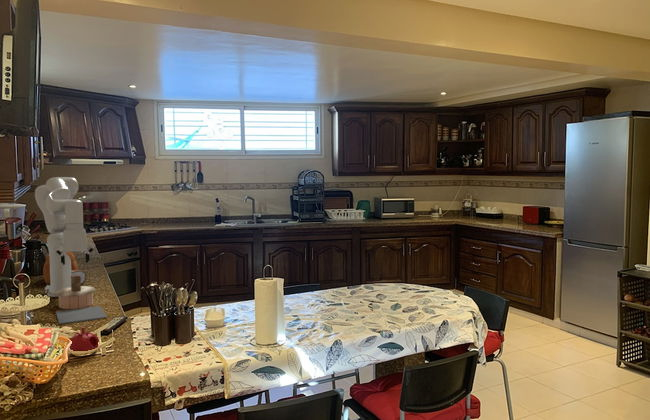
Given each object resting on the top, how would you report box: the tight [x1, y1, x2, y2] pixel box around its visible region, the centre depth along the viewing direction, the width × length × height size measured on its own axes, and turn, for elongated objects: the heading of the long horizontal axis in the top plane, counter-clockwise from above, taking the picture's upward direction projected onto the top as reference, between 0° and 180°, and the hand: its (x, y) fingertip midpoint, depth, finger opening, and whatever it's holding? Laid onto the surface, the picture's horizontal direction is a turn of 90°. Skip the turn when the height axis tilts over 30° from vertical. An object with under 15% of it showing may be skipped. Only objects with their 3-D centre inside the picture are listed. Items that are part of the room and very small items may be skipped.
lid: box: [57, 274, 96, 296], centre depth 229 cm, size 16×16×8 cm
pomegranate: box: [69, 326, 100, 351], centre depth 167 cm, size 10×10×9 cm
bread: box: [42, 252, 79, 285], centre depth 282 cm, size 18×22×17 cm
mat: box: [55, 305, 108, 325], centre depth 213 cm, size 20×18×1 cm
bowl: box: [58, 292, 94, 310], centre depth 229 cm, size 14×14×6 cm
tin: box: [71, 269, 87, 285], centre depth 268 cm, size 15×3×8 cm, turn 141°
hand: (75, 263), depth 228 cm, fingers open, 9 cm apart
